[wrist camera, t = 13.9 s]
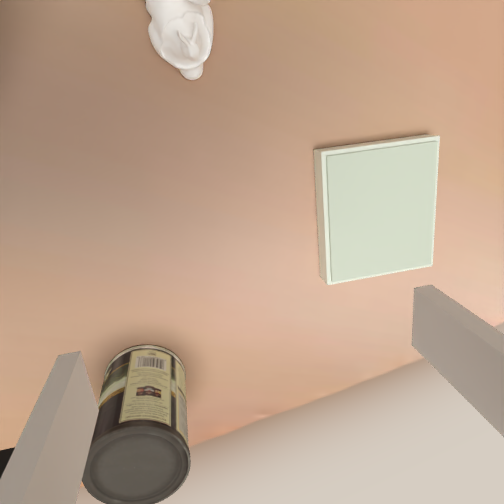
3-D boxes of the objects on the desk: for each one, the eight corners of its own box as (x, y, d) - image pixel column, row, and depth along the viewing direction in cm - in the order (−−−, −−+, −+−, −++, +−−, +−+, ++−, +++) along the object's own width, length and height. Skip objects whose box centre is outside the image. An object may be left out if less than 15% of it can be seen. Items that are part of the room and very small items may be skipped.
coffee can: (118, 420, 53) (100, 521, 40) (93, 356, 49) (63, 445, 36) (194, 398, 54) (201, 491, 41) (175, 335, 50) (176, 414, 37)
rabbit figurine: (117, -45, 37) (99, -95, 28) (195, -71, 37) (201, -129, 28) (169, 89, 41) (168, 84, 32) (238, 65, 41) (255, 53, 32)
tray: (320, 276, 51) (328, 286, 48) (313, 149, 46) (322, 152, 43) (420, 258, 53) (434, 267, 50) (426, 134, 47) (442, 135, 45)
